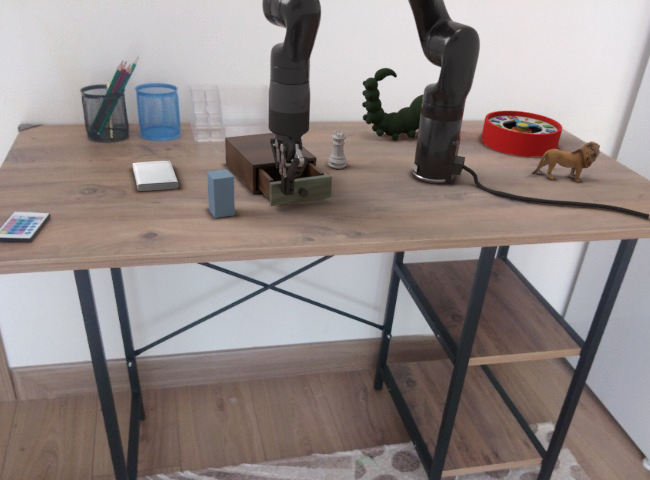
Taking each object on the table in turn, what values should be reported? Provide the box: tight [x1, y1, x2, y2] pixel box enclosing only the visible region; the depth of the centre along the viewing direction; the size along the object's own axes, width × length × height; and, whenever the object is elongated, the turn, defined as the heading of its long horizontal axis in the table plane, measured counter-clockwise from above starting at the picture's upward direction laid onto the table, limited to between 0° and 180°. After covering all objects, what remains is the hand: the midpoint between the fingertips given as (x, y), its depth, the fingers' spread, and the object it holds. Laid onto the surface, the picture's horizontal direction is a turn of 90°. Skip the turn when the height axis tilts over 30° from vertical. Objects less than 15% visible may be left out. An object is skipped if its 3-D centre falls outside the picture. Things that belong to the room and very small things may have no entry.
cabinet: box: [224, 132, 317, 195], centre depth 142 cm, size 17×14×6 cm
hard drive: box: [132, 160, 179, 192], centre depth 138 cm, size 2×8×12 cm
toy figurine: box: [361, 67, 423, 141], centre depth 167 cm, size 9×19×25 cm
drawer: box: [256, 161, 333, 207], centre depth 135 cm, size 18×13×5 cm
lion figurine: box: [531, 140, 601, 183], centre depth 151 cm, size 15×5×9 cm, turn 92°
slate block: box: [206, 168, 236, 219], centre depth 124 cm, size 4×4×8 cm
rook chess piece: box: [327, 130, 347, 170], centre depth 149 cm, size 4×4×8 cm
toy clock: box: [480, 110, 563, 158], centre depth 171 cm, size 20×6×20 cm
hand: (287, 193), depth 126 cm, fingers closed
